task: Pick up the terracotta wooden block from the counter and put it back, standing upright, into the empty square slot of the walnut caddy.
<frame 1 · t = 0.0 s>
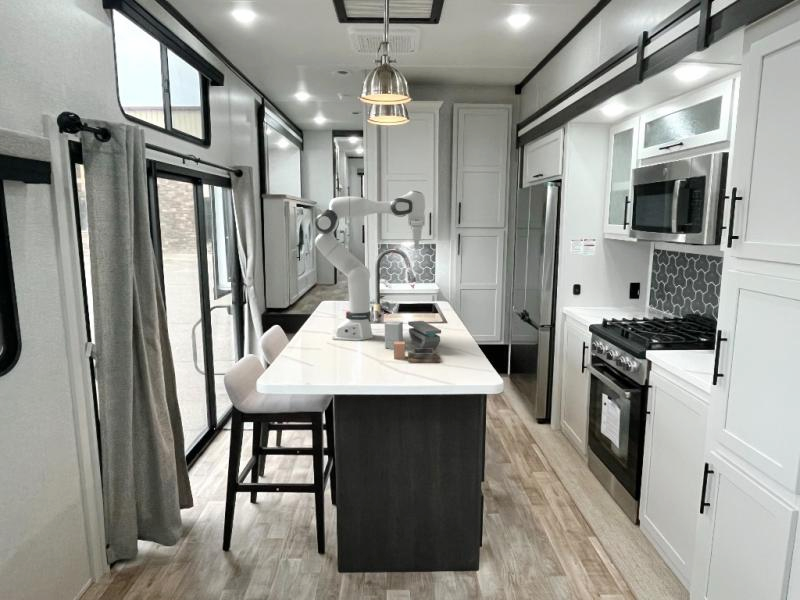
hand: (416, 248, 263), 48 cm above the countertop, tool pointing down, fingers open, 8 cm apart
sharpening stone: (423, 347, 248), on the countertop
block: (399, 357, 228), on the countertop
supplement box: (393, 347, 247), on the countertop
caddy: (423, 358, 226), on the countertop
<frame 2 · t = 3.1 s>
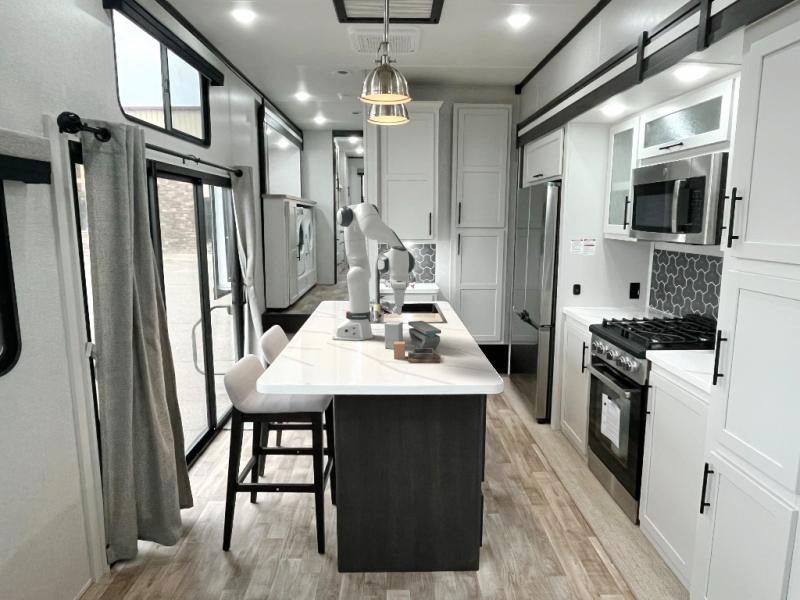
hand: (399, 312, 225), 21 cm above the countertop, tool pointing down, fingers open, 8 cm apart
nothing on the countertop moved.
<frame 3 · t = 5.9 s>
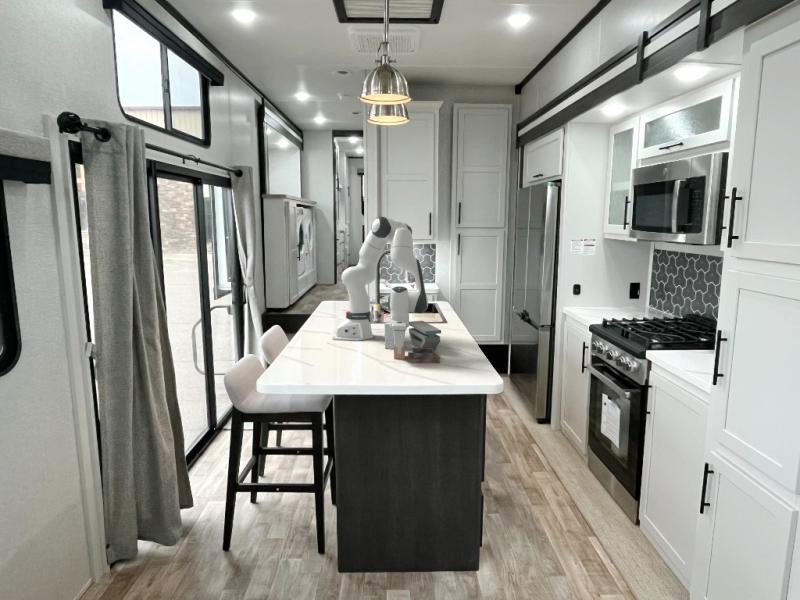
hand: (399, 351, 228), 3 cm above the countertop, tool pointing down, fingers closed on block, 5 cm apart
block: (399, 357, 228), on the countertop, touching gripper
everything else where it was.
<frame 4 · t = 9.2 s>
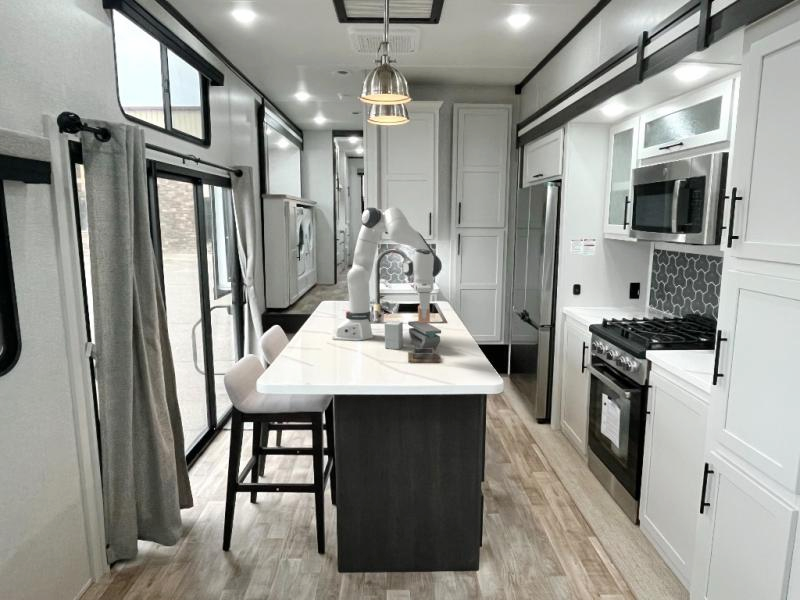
hand: (423, 316, 223), 20 cm above the countertop, tool pointing down, fingers closed on block, 5 cm apart
block: (424, 321, 224), point 17 cm above the countertop, touching gripper
everything else where it was.
when the fingers open (6 cm above the countertop, at t = 12.7 s): block drops 2 cm, resting on caddy.
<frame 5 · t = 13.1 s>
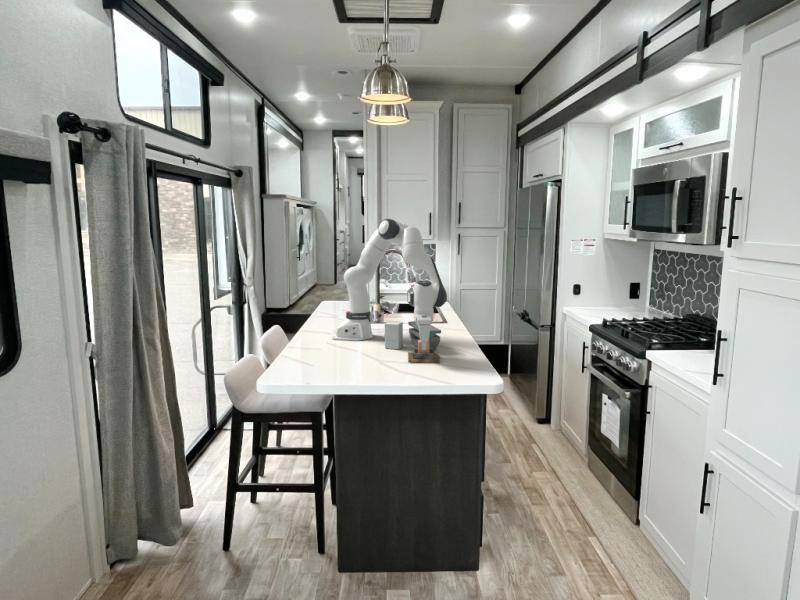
hand: (423, 346, 226), 6 cm above the countertop, tool pointing down, fingers open, 8 cm apart
block: (423, 356, 226), point 1 cm above the countertop, touching caddy
everything else where it was.
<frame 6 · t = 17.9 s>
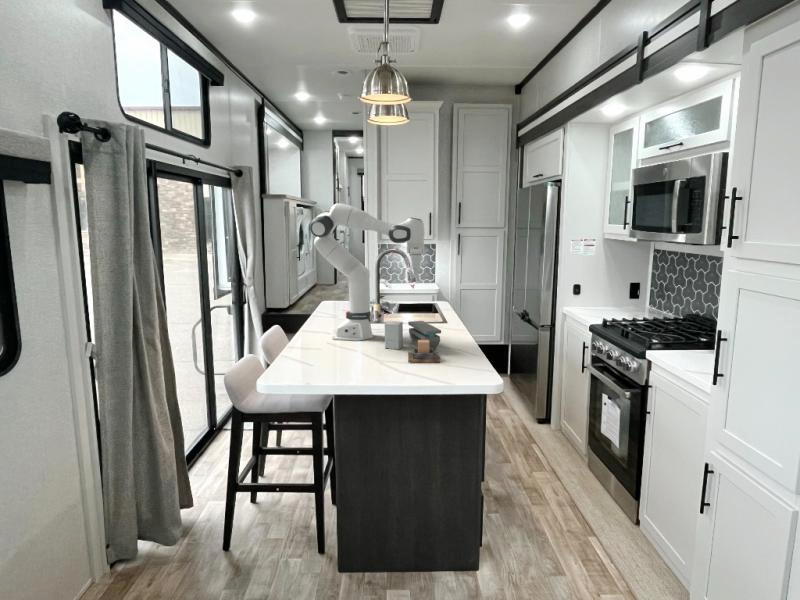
hand: (415, 276, 255), 34 cm above the countertop, tool pointing down, fingers open, 8 cm apart
nothing on the countertop moved.
at the end: block 0.1 cm off-centre on the caddy, point 1.2 cm above the caddy's base; block tilted 0°; the gripper is holding nothing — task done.
